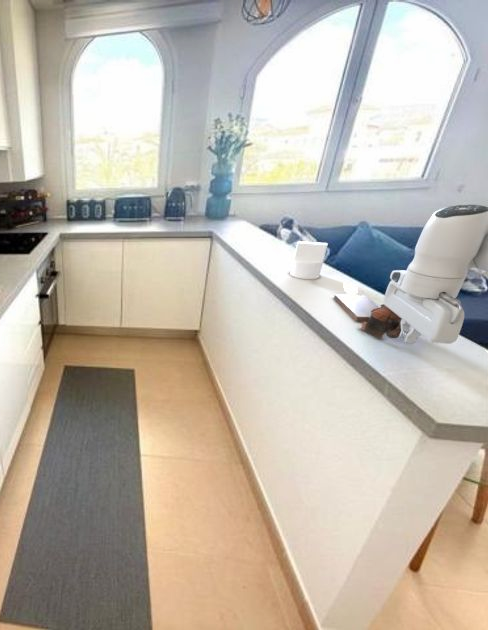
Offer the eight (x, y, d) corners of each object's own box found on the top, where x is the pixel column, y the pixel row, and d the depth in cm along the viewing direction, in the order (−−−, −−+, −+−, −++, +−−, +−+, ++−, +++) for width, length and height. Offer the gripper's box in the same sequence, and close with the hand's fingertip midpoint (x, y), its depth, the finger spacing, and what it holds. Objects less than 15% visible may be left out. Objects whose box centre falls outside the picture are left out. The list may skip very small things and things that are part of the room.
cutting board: (364, 299, 105) (365, 295, 105) (391, 323, 92) (393, 318, 91) (333, 298, 108) (334, 294, 107) (355, 321, 94) (357, 316, 93)
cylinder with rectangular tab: (319, 272, 128) (327, 241, 123) (319, 280, 121) (327, 247, 116) (291, 269, 133) (298, 239, 127) (289, 277, 126) (296, 245, 121)
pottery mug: (350, 325, 93) (370, 299, 91) (383, 342, 92) (406, 316, 90) (377, 336, 82) (401, 306, 79) (416, 356, 81) (442, 326, 78)
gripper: (486, 305, 64) (454, 367, 70) (420, 269, 81) (399, 321, 87) (443, 303, 65) (416, 363, 71) (387, 269, 83) (369, 319, 89)
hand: (406, 340), depth 79 cm, fingers closed
